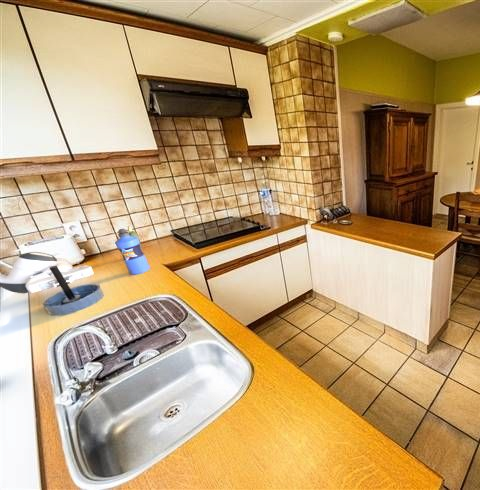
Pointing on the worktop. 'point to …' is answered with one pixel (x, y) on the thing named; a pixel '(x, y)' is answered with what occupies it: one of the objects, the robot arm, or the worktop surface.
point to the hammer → (64, 286)
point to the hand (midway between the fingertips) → (62, 283)
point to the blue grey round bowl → (89, 297)
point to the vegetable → (133, 234)
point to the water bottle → (132, 253)
